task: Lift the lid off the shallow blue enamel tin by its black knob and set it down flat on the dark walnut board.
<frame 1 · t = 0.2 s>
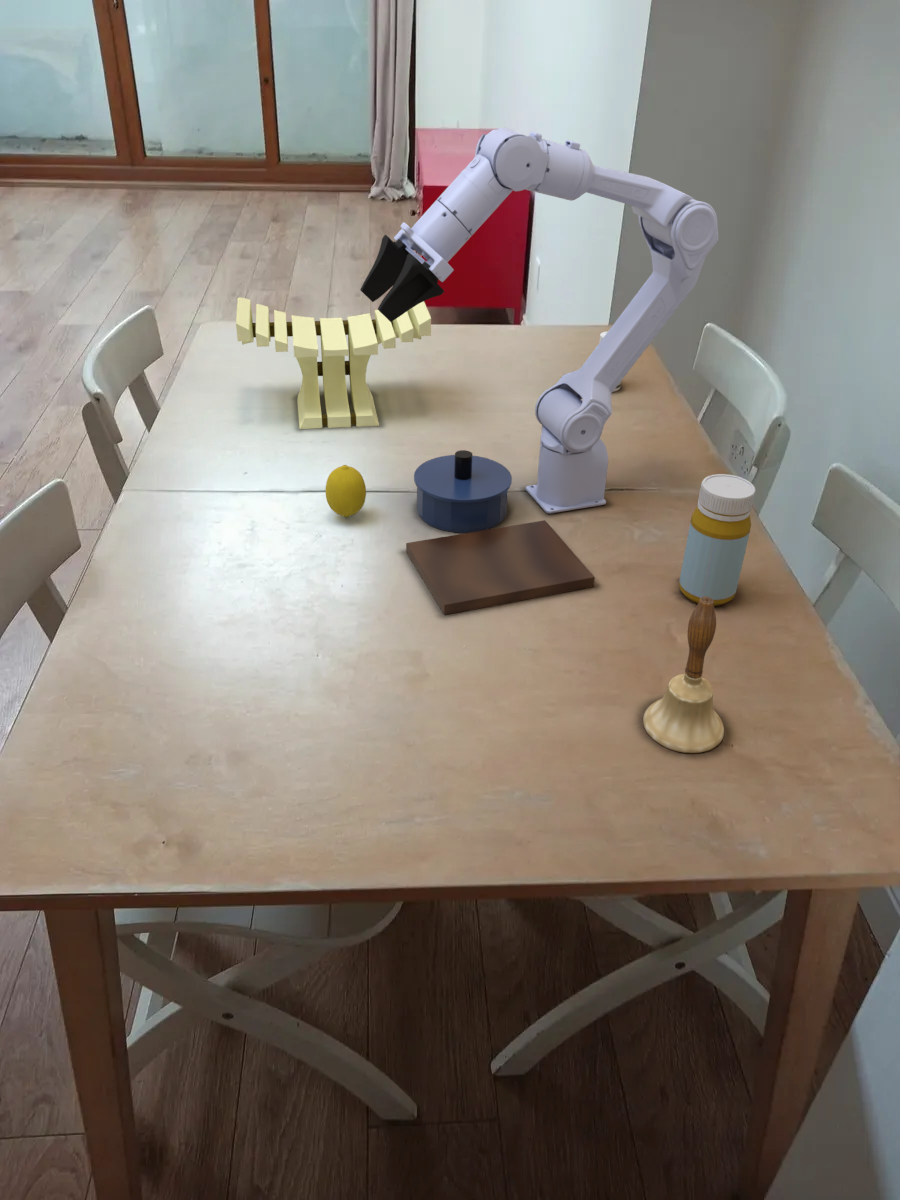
hand: (374, 305, 116), 31 cm above the table, tool tilted 45°, fingers open, 7 cm apart
lemon: (346, 518, 136), on the table
supplement bottle: (605, 388, 177), on the table
hand bell: (682, 727, 101), on the table
slatted curved stool: (336, 409, 167), on the table
bottle: (706, 593, 122), on the table
board: (497, 569, 125), on the table
tin: (461, 510, 138), on the table
lid: (462, 479, 135), point 5 cm above the table, touching tin
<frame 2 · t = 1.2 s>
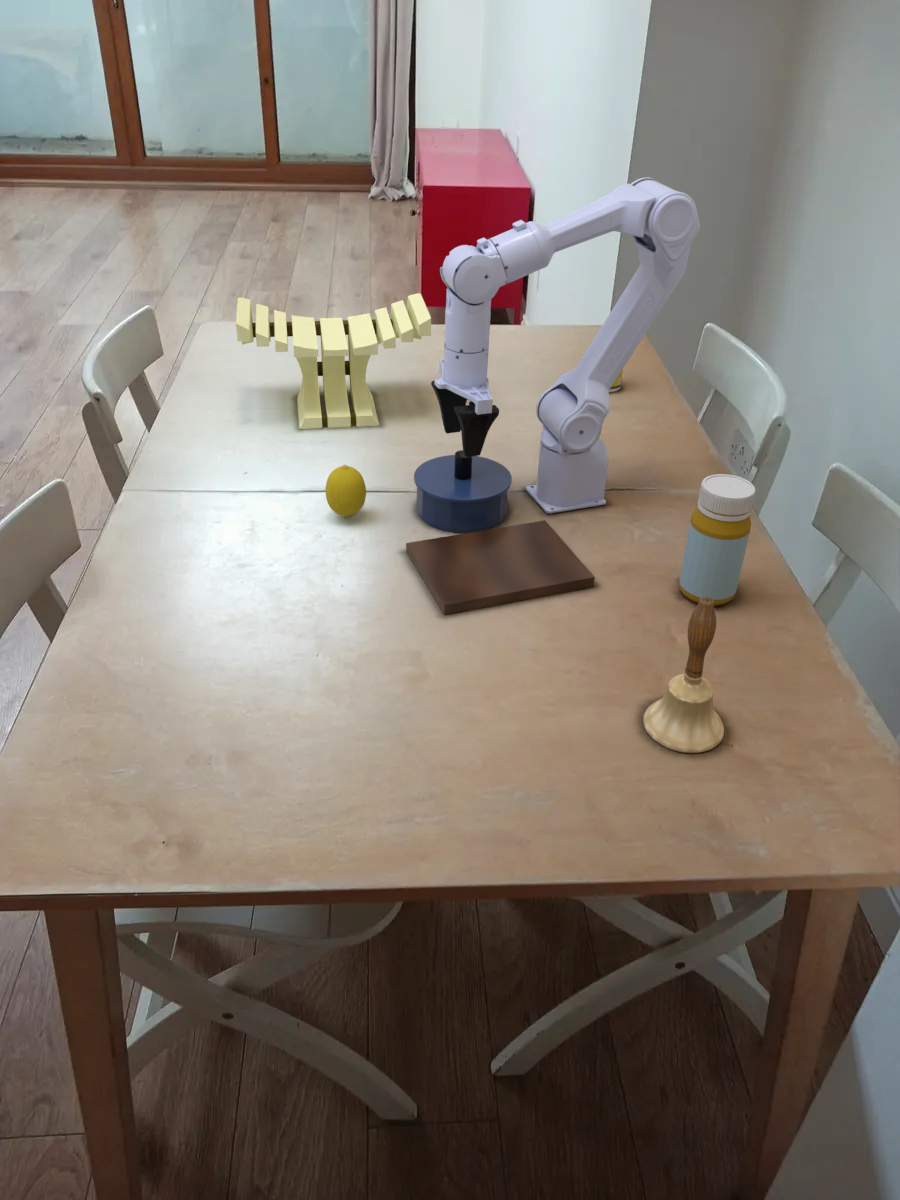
hand: (462, 443, 132), 10 cm above the table, tool pointing down, fingers open, 7 cm apart
nothing on the table moved.
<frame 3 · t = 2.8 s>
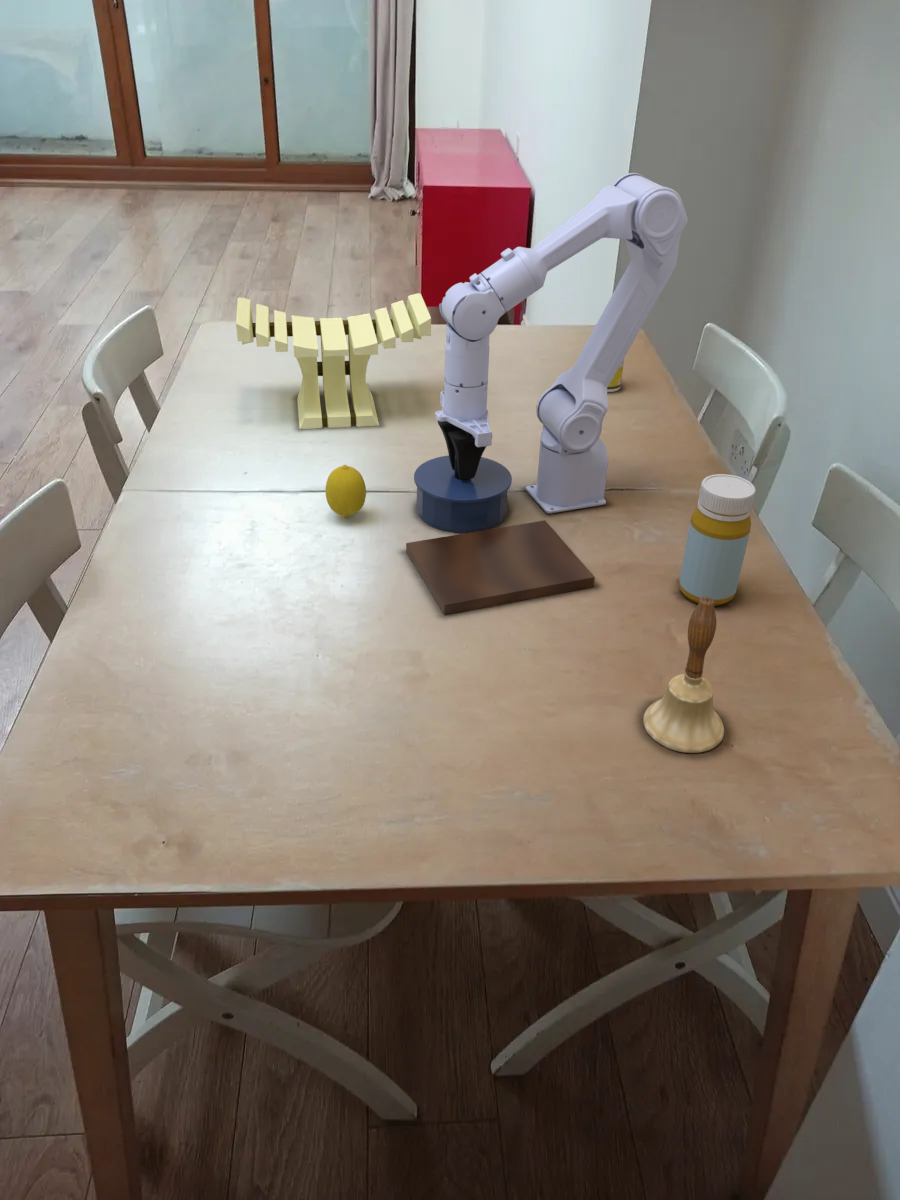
hand: (463, 472, 135), 6 cm above the table, tool pointing down, fingers closed on lid, 2 cm apart
lid: (462, 479, 135), point 5 cm above the table, touching gripper, tin
everything else where it was.
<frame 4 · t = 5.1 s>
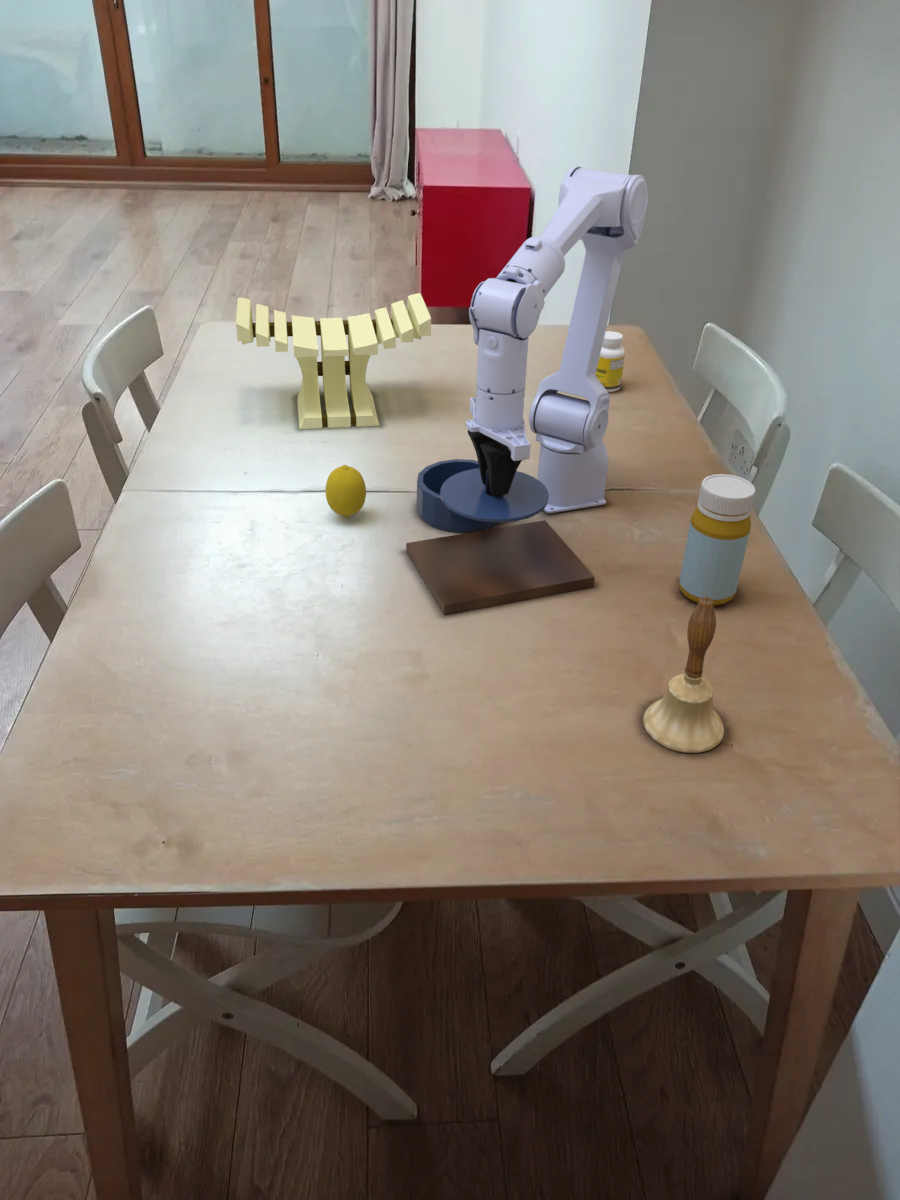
hand: (495, 488, 121), 10 cm above the table, tool pointing down, fingers closed on lid, 2 cm apart
lid: (494, 495, 122), point 9 cm above the table, touching gripper
everything else where it was.
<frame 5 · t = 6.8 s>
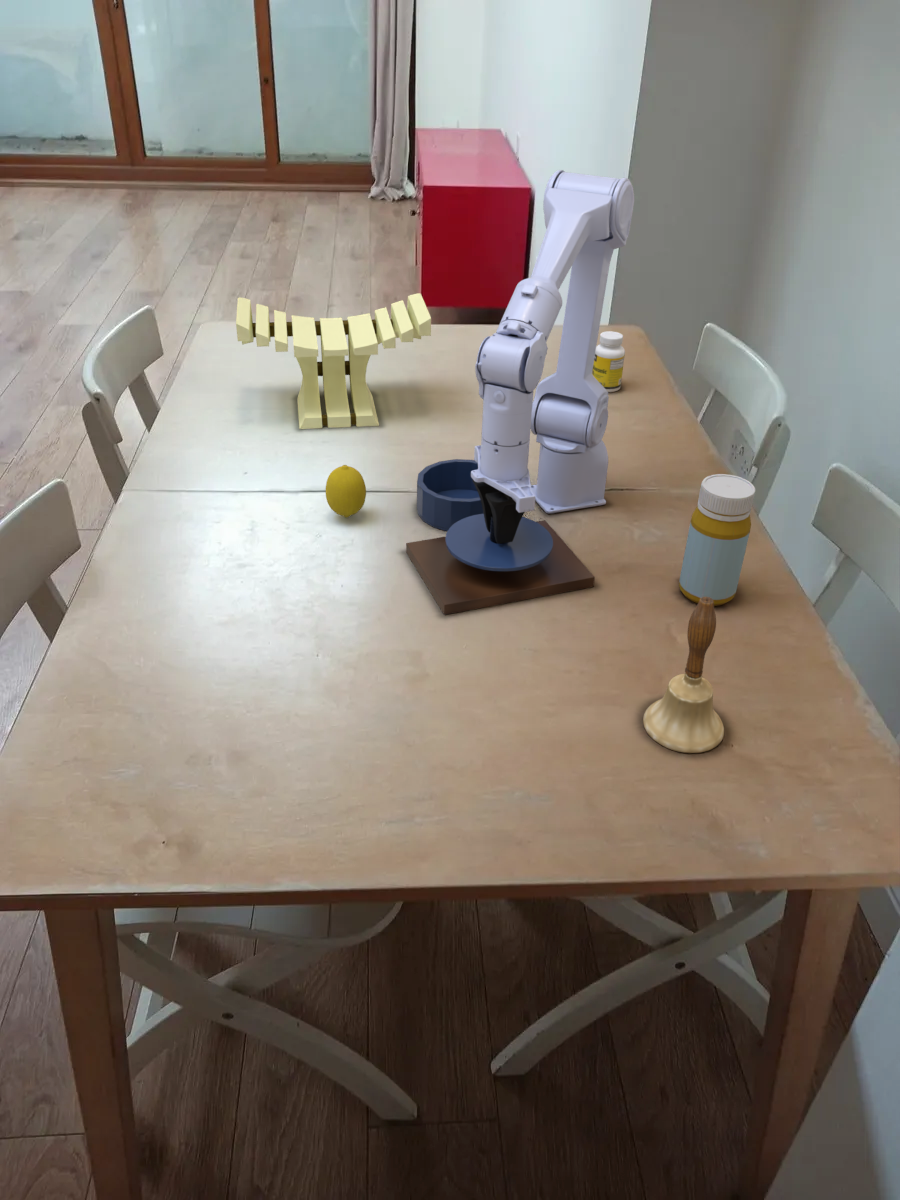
hand: (499, 535, 122), 5 cm above the table, tool pointing down, fingers closed on lid, 2 cm apart
lid: (499, 542, 123), point 4 cm above the table, touching gripper
everything else where it was.
when the fingers open (3 cm above the table, at t = 7.7 s): lid stays where it is, resting on board.
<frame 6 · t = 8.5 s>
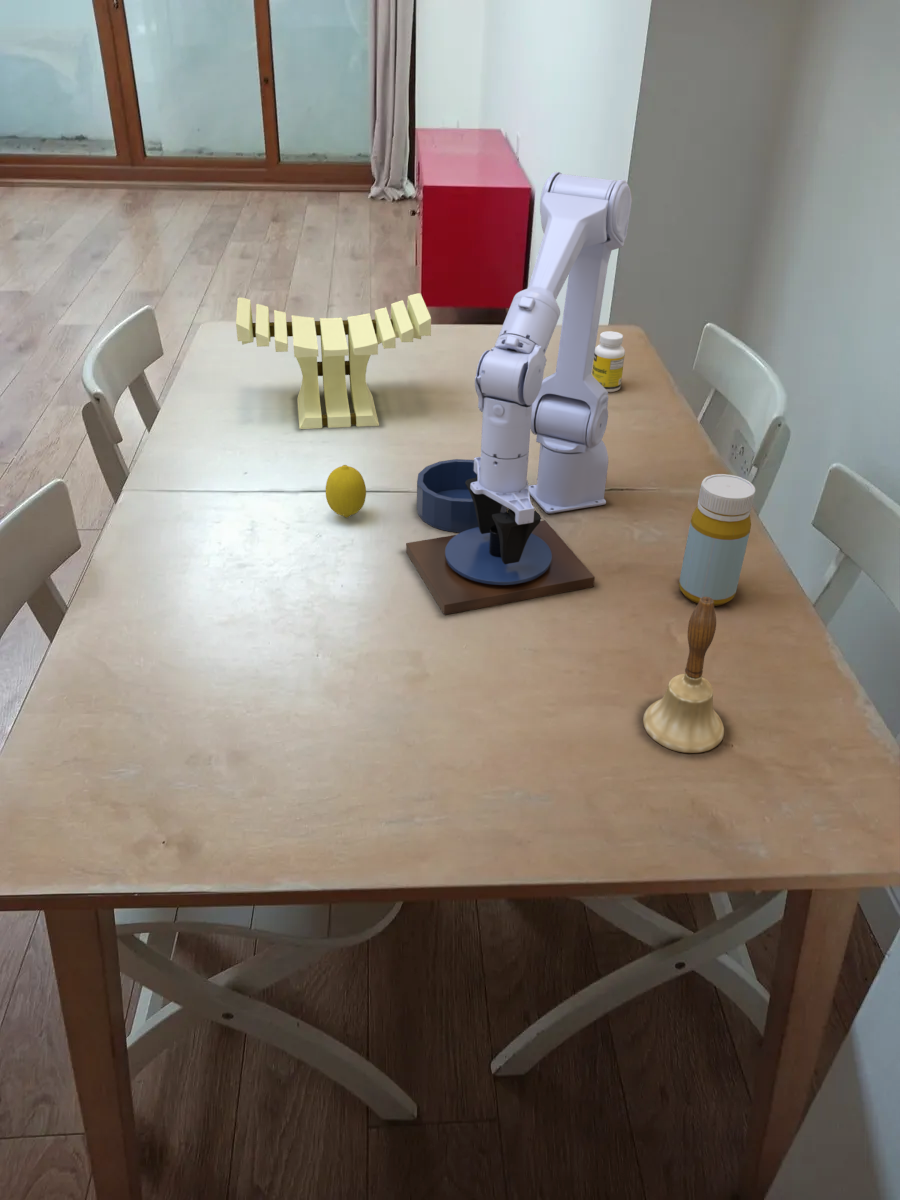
hand: (499, 546, 123), 3 cm above the table, tool pointing down, fingers open, 7 cm apart
lid: (498, 555, 124), point 2 cm above the table, touching board
everything else where it was.
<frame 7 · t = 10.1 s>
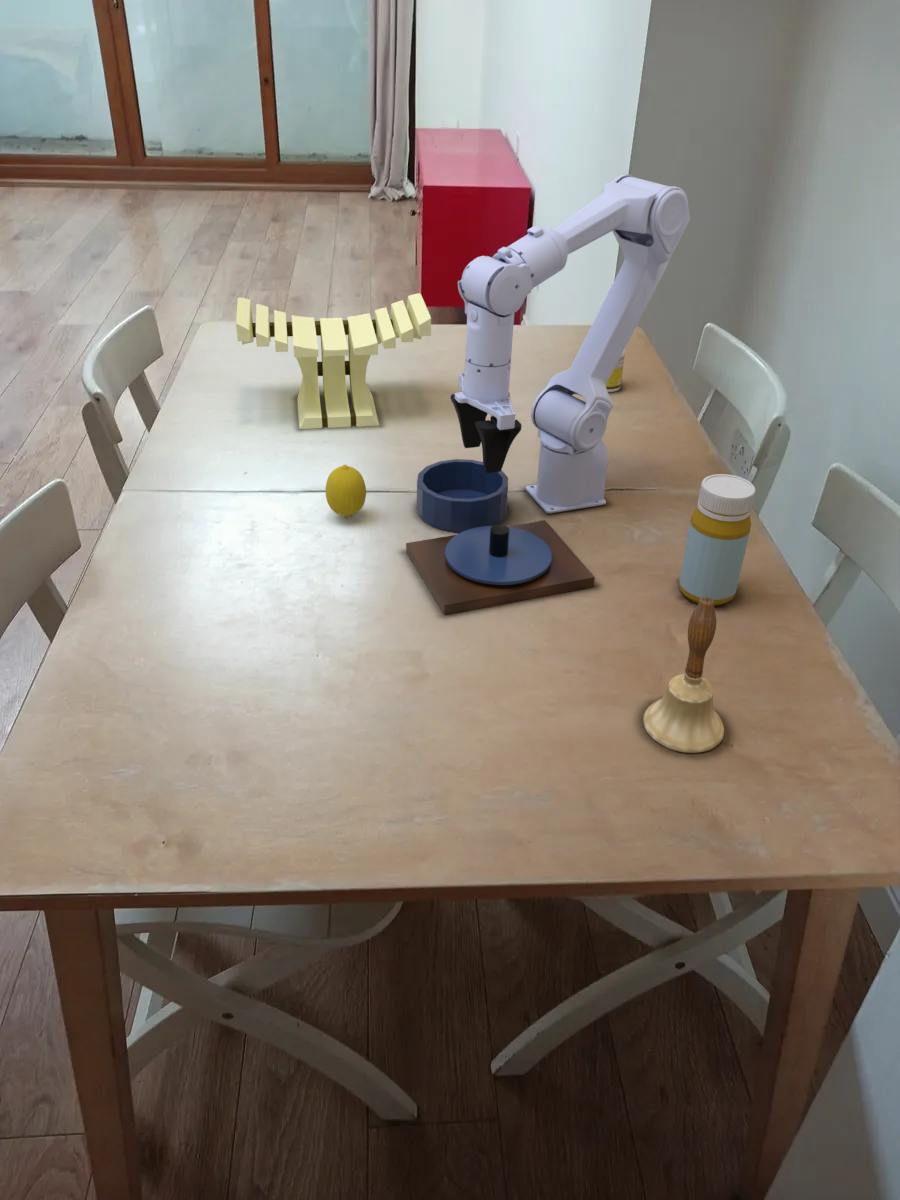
hand: (482, 458, 128), 10 cm above the table, tool pointing down, fingers open, 7 cm apart
nothing on the table moved.
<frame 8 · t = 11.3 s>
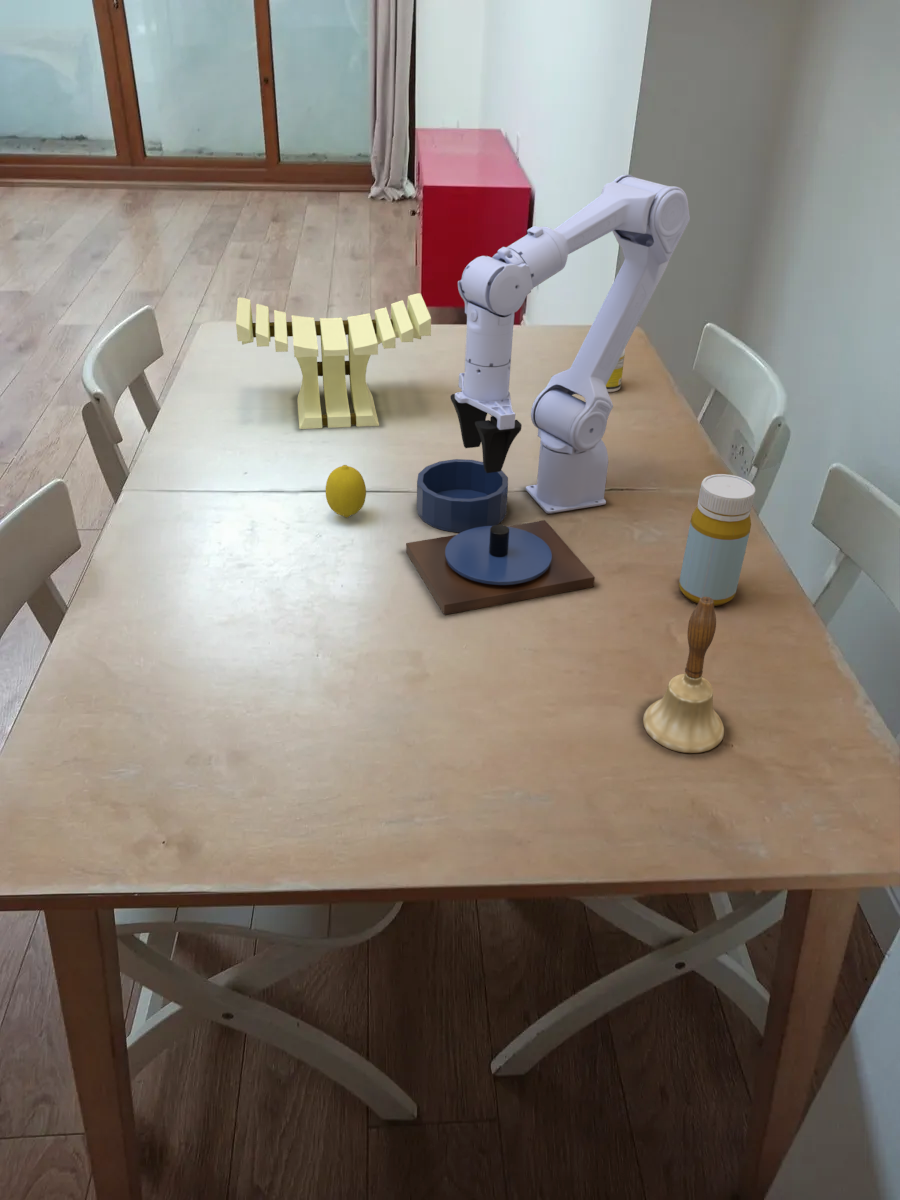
hand: (482, 458, 128), 10 cm above the table, tool pointing down, fingers open, 7 cm apart
nothing on the table moved.
at the end: lid inside the target area on the board (0.1 cm from its centre), point 2.1 cm above the board's base; lid tilted 0°; the gripper is holding nothing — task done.
